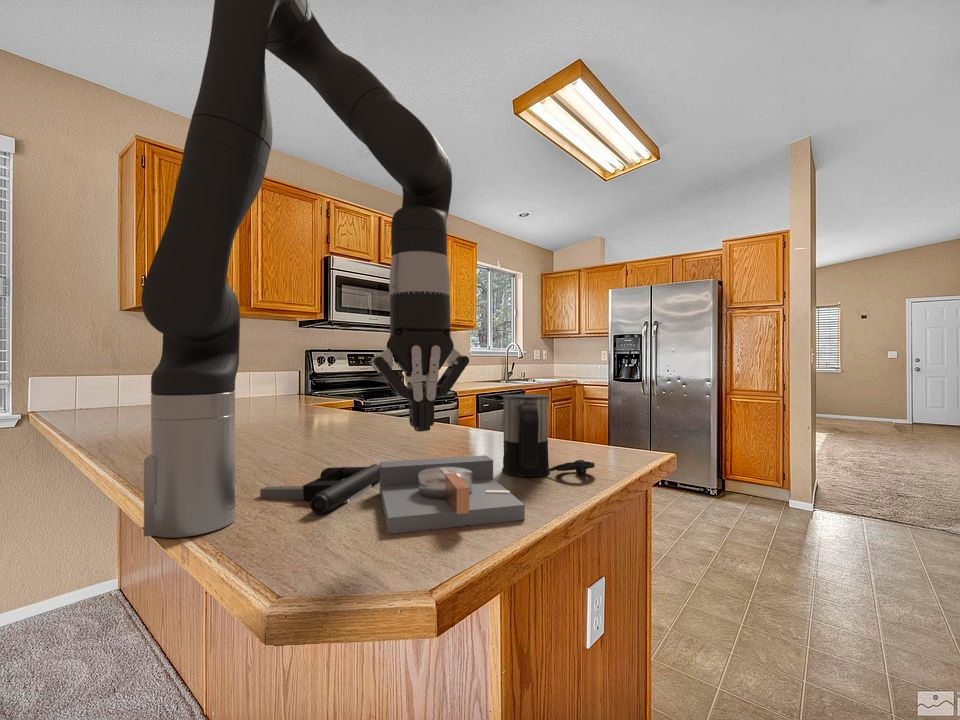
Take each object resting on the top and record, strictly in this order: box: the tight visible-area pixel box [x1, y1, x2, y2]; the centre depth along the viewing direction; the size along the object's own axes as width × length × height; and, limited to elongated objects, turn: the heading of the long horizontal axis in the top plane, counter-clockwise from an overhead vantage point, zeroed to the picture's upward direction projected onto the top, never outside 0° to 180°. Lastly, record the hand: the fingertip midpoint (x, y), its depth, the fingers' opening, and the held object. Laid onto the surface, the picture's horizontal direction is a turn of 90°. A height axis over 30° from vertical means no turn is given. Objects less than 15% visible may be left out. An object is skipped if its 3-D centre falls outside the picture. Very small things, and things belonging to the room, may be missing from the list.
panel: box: [379, 454, 526, 535], centre depth 66 cm, size 18×18×5 cm
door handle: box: [259, 463, 380, 515], centre depth 73 cm, size 3×20×16 cm
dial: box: [418, 467, 472, 514], centre depth 63 cm, size 15×8×3 cm, turn 16°
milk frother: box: [501, 393, 596, 478], centre depth 85 cm, size 14×16×15 cm
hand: (422, 430), depth 57 cm, fingers closed
